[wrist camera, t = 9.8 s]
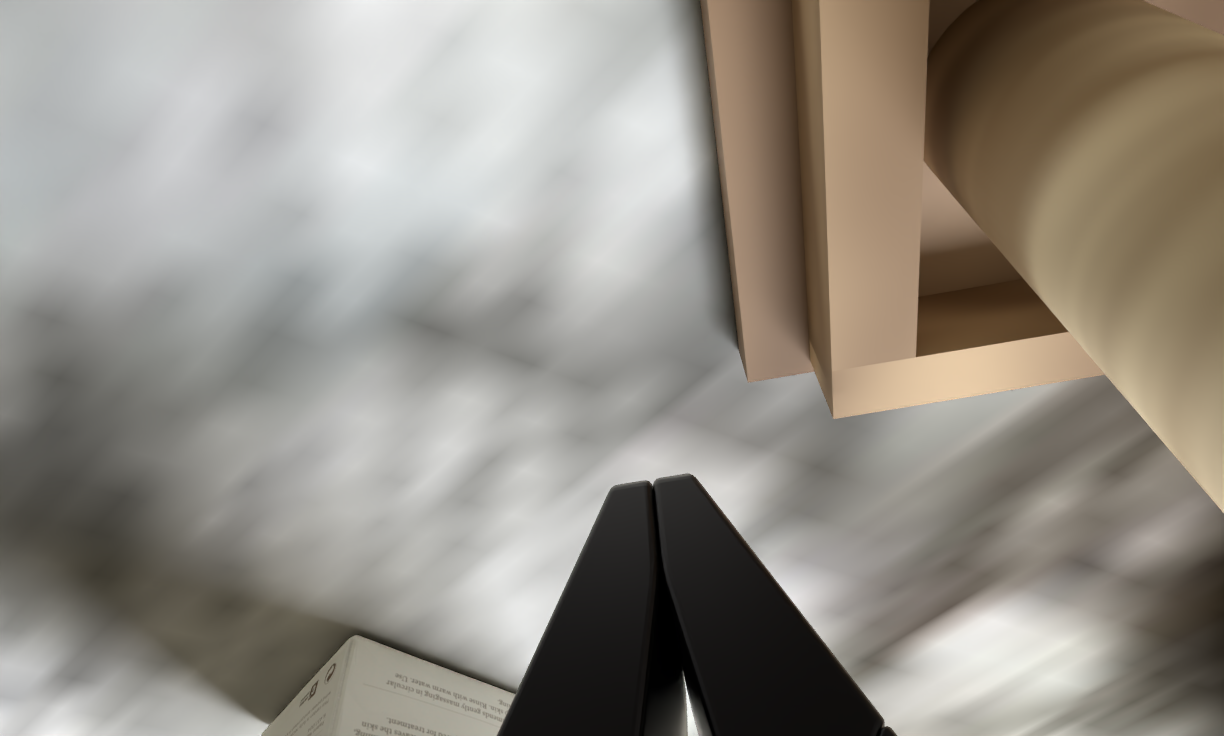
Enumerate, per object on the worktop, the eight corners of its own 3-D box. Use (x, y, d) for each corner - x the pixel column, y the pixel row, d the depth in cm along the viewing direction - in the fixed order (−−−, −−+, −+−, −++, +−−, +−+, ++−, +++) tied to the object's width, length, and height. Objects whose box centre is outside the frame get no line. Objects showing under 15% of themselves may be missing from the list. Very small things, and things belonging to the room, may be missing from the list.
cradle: (739, 351, 20) (791, 532, 15) (677, -206, 14) (733, -186, 9) (1435, 233, 19) (1716, 388, 14) (1724, -433, 12) (2405, -543, 8)
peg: (909, 212, 17) (1223, 644, 9) (914, -2, 14) (1350, 312, 6) (1119, 175, 16) (1653, 588, 8) (1159, -50, 14) (1955, 215, 6)
